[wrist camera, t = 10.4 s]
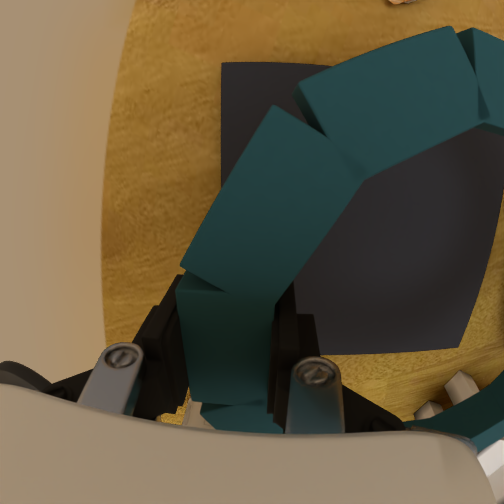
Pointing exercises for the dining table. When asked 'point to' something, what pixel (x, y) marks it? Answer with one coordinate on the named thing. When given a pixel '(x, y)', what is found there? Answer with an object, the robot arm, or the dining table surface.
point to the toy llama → (491, 458)
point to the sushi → (401, 1)
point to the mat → (385, 229)
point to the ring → (324, 210)
